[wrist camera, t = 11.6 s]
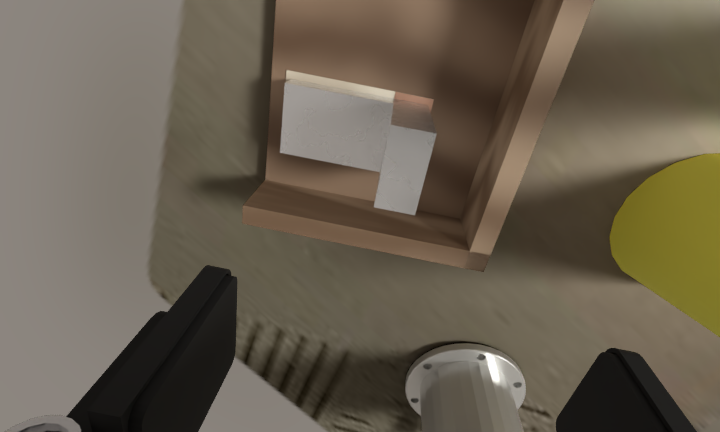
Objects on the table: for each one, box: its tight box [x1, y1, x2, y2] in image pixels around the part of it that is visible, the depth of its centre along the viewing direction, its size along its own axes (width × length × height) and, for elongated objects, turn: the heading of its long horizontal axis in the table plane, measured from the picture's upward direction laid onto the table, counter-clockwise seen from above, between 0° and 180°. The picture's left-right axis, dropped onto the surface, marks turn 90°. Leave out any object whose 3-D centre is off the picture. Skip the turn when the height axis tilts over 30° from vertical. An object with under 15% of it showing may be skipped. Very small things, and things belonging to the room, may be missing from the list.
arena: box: [242, 0, 594, 272], centre depth 24 cm, size 24×18×6 cm
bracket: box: [280, 79, 437, 215], centre depth 25 cm, size 10×5×8 cm, turn 81°
